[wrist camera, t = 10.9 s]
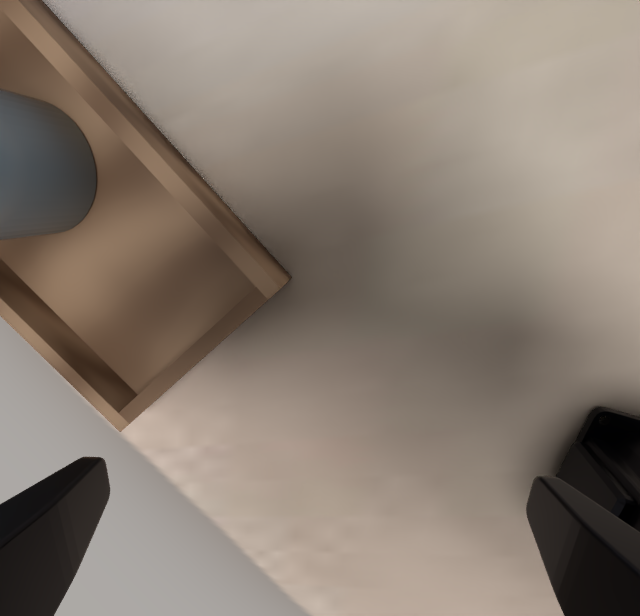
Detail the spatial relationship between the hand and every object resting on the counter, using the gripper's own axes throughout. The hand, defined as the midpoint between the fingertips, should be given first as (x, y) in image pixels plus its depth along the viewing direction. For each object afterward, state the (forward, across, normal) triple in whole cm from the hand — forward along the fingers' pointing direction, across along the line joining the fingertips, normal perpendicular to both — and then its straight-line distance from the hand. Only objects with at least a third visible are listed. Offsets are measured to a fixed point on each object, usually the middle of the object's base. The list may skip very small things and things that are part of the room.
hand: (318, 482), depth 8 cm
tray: (+14, +13, -4) cm, 20 cm away
